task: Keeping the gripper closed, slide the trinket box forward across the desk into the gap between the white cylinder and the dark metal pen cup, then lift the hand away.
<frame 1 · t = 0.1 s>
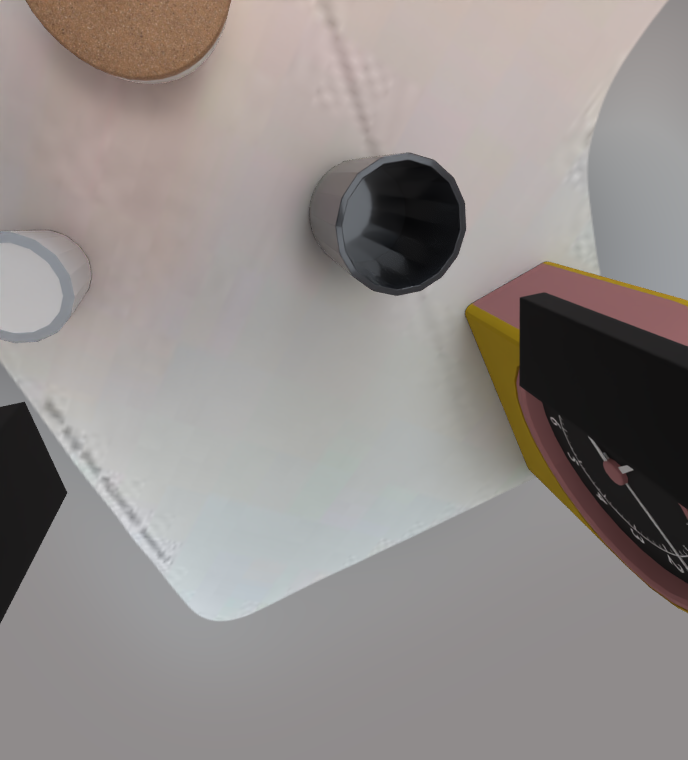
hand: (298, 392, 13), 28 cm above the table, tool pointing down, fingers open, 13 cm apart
white cylinder: (50, 268, 36), on the table
trinket box: (146, 3, 32), on the table
pen cup: (359, 214, 39), on the table
alarm clock: (538, 374, 49), on the table
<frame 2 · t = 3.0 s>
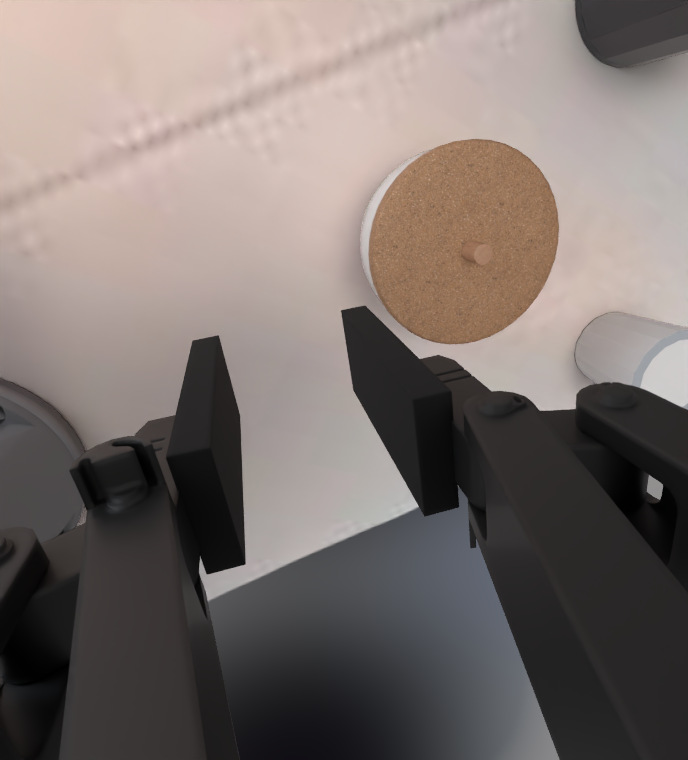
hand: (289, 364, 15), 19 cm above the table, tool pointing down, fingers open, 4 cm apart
white cylinder: (604, 345, 40), on the table
trinket box: (418, 233, 34), on the table
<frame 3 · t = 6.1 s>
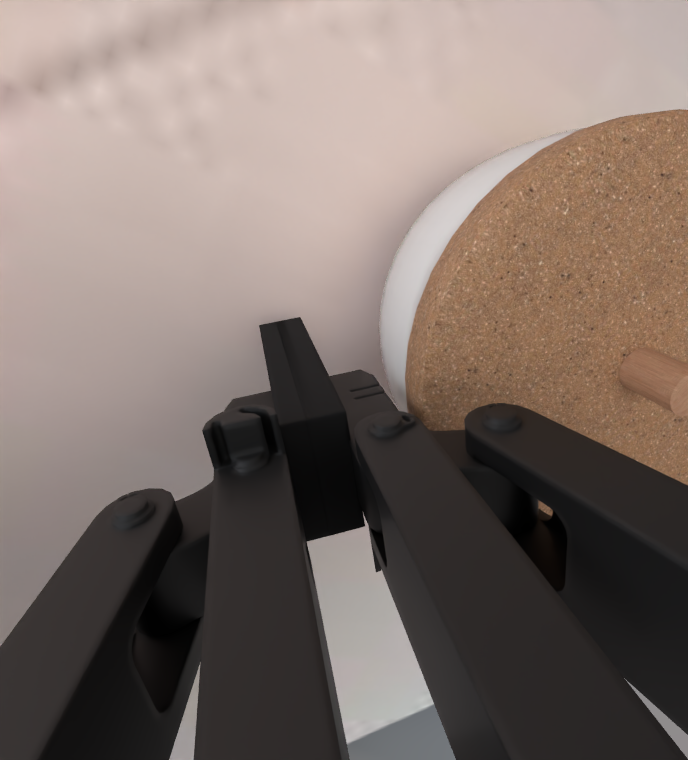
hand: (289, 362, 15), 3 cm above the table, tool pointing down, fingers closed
trinket box: (479, 292, 19), on the table, touching gripper
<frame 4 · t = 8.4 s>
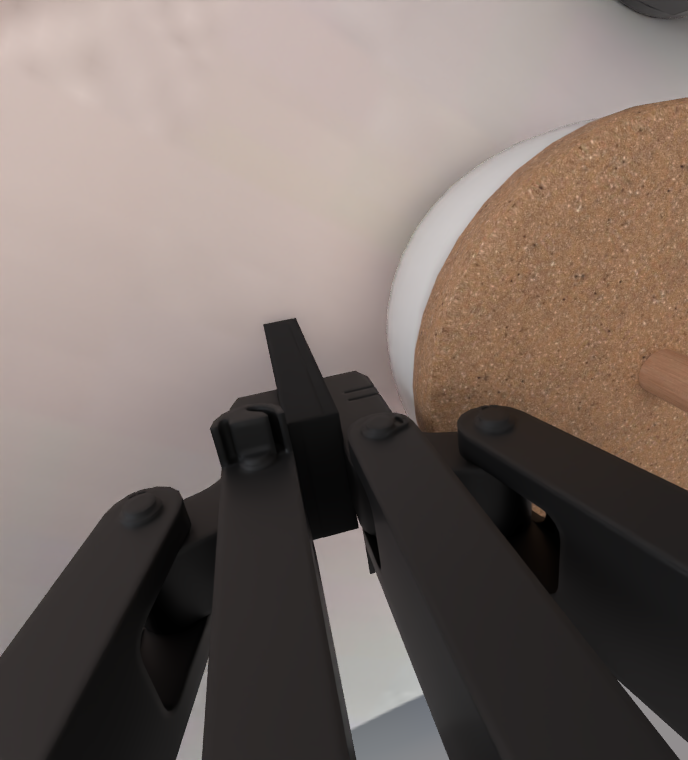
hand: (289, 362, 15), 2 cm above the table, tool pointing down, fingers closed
trinket box: (490, 290, 18), on the table, touching gripper
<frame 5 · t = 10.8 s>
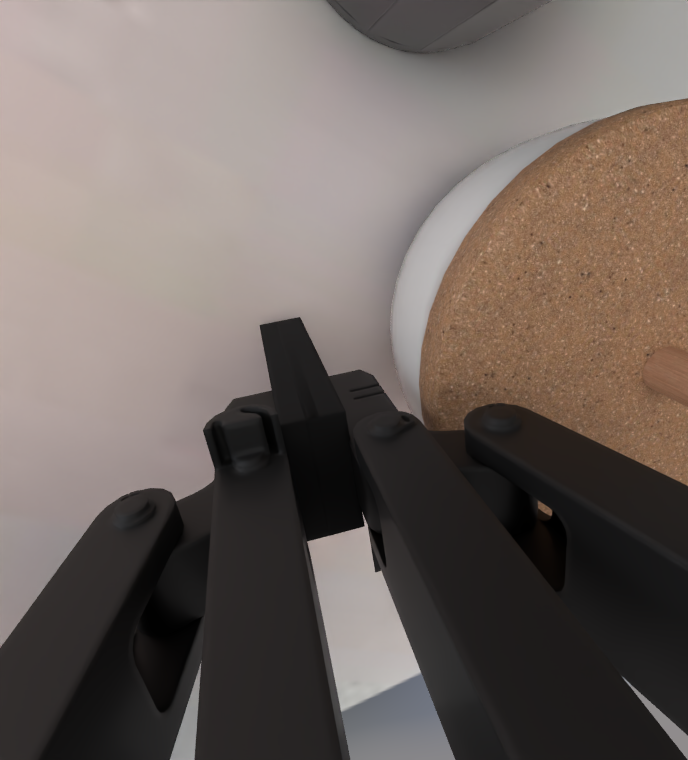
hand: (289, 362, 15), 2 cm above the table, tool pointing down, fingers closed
trinket box: (491, 290, 18), on the table, touching gripper
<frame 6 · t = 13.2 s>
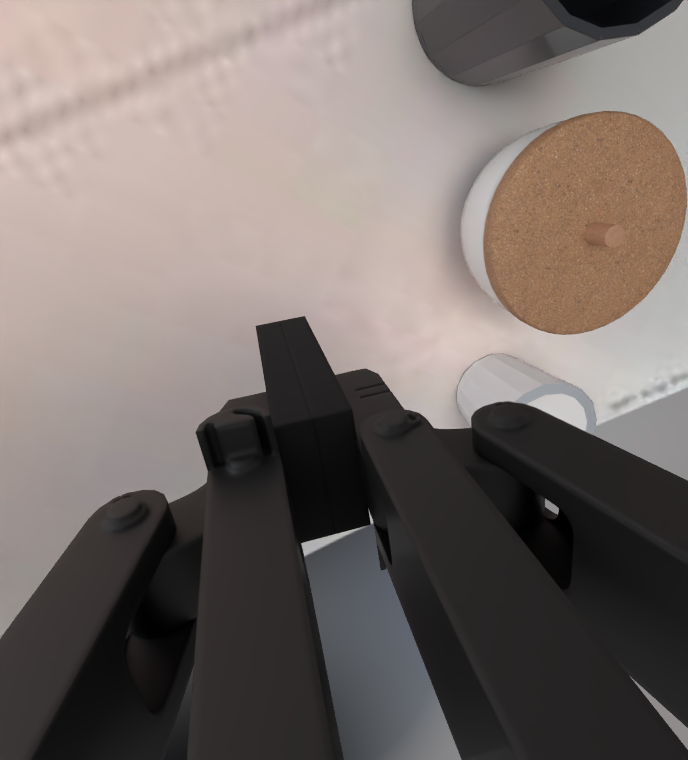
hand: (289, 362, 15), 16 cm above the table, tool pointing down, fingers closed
white cylinder: (491, 388, 36), on the table
trinket box: (512, 218, 32), on the table
pen cup: (483, 0, 27), on the table
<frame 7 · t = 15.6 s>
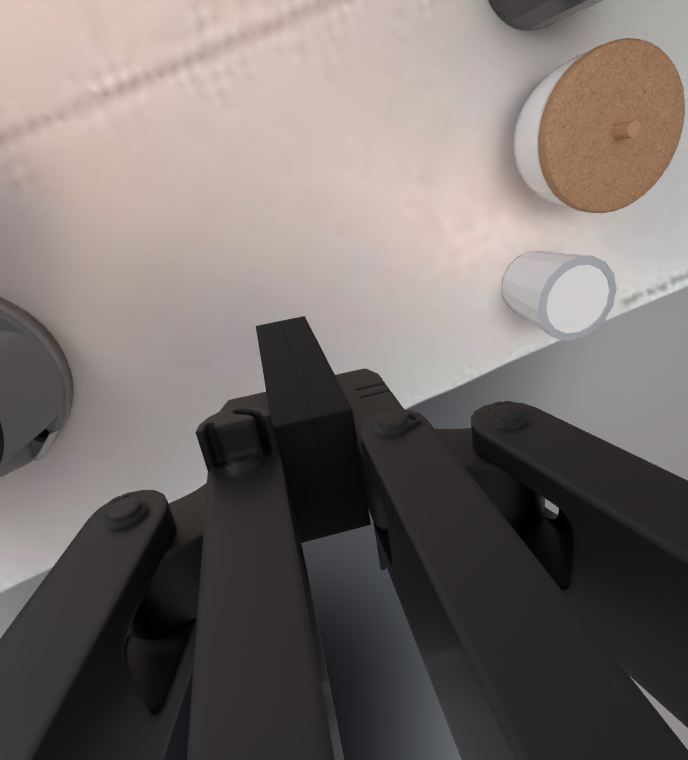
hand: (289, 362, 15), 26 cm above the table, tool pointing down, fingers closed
white cylinder: (528, 282, 46), on the table
trinket box: (549, 138, 41), on the table
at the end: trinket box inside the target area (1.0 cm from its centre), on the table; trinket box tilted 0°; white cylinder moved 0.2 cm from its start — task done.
